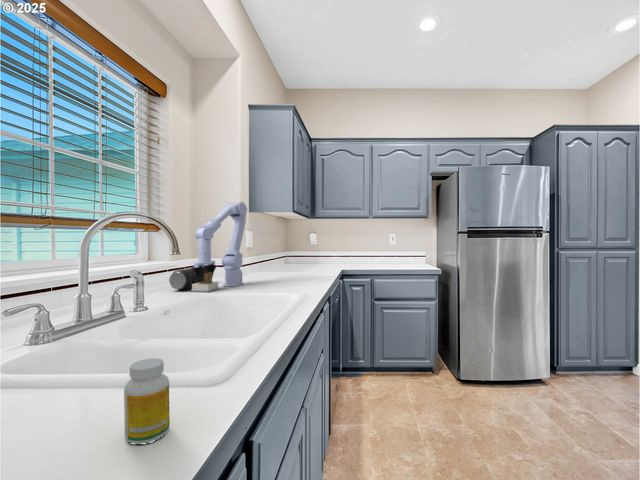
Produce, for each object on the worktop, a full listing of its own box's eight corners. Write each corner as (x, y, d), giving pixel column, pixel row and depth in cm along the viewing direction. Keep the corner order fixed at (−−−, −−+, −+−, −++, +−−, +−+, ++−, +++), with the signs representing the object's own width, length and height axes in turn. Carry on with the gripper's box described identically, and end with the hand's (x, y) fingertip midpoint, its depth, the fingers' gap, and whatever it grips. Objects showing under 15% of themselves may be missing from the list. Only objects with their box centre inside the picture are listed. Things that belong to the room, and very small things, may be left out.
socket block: (202, 288, 170) (202, 281, 169) (220, 289, 167) (220, 281, 167) (189, 291, 160) (189, 284, 160) (208, 292, 157) (208, 284, 157)
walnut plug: (204, 288, 166) (203, 270, 166) (212, 288, 165) (211, 270, 165) (198, 289, 162) (198, 271, 162) (207, 290, 161) (206, 271, 161)
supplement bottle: (119, 435, 45) (117, 363, 45) (160, 419, 49) (159, 353, 49) (133, 452, 42) (131, 375, 41) (176, 433, 46) (175, 362, 45)
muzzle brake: (211, 283, 187) (211, 265, 187) (187, 292, 159) (186, 270, 159) (195, 283, 188) (194, 265, 188) (167, 292, 160) (167, 270, 160)
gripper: (203, 253, 155) (203, 283, 155) (220, 252, 169) (220, 279, 169) (189, 253, 157) (190, 283, 157) (207, 252, 171) (208, 279, 171)
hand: (205, 281), depth 163 cm, fingers open, 7 cm apart
